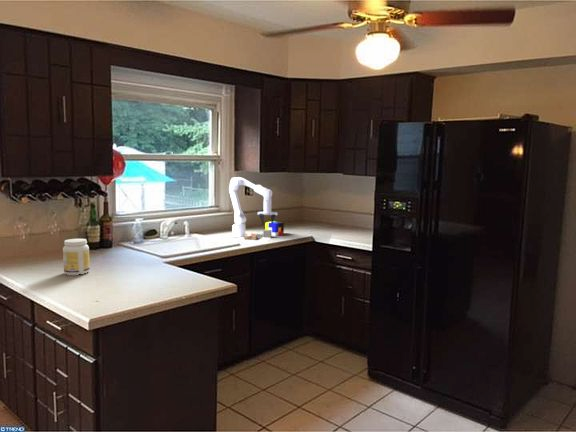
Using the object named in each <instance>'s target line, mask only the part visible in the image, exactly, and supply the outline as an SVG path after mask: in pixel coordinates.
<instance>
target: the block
mask: <svg viewBox="0 0 576 432" xmlns="http://www.w3.org/2000/svg"><path fill="white" fill-rule="evenodd" d="M262 233H263V234H262V235H263V237H262V238H270V239H271V238H272V235H271V230H265V229H264V230H263V232H262Z"/></svg>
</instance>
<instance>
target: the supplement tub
mask: <svg viewBox="0 0 576 432" xmlns="http://www.w3.org/2000/svg"><path fill="white" fill-rule="evenodd" d="M87 243H88V241H87V238H69V239H65V240H64V243H63V244H64V246H63V248H62V257H63V258H62V260H63V263H62V264H63V273H64V274H65V275H66V274H67V275H66V276H80V275H79V274H83V275H85V274H84V273H86V274H88V273H90V271H91V264H90V261H91V260H90V247H89V245H88V244H87ZM87 272H88V273H87Z"/></svg>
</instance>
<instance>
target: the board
mask: <svg viewBox="0 0 576 432" xmlns="http://www.w3.org/2000/svg"><path fill="white" fill-rule="evenodd" d="M270 239H271V238H263V237H262V238H261V239H260V240H259V242H268V241H269V240H270Z"/></svg>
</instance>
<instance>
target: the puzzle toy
mask: <svg viewBox="0 0 576 432" xmlns="http://www.w3.org/2000/svg"><path fill="white" fill-rule="evenodd" d="M264 228H265V229H264V230H271V237H272V236H273V237H278V236H282V235H284V234H285V229H284V228H285V222H283V221H282V222H281V221H277V220H276V221H275V220H274V221H273V225H271V221H267V222H265V223H264Z"/></svg>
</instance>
